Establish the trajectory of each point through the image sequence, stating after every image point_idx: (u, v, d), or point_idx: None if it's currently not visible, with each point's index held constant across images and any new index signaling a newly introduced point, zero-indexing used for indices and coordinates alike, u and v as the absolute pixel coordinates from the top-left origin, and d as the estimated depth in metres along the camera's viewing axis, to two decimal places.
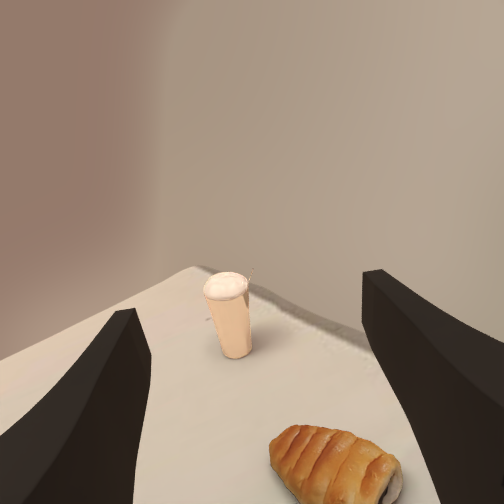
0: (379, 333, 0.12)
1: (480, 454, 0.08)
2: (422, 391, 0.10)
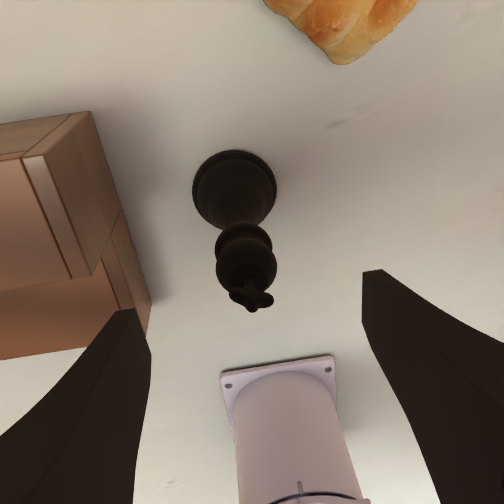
0: (379, 333, 0.12)
1: (480, 454, 0.08)
2: (422, 391, 0.10)
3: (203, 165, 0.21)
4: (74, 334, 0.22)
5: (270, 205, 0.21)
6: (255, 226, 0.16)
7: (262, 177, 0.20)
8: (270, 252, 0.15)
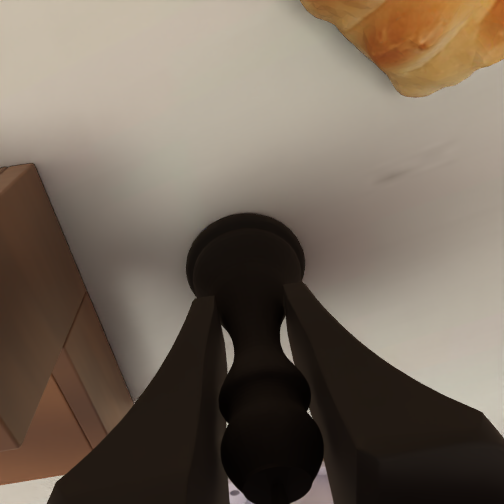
0: (295, 347, 0.12)
1: (346, 477, 0.07)
2: (319, 408, 0.10)
3: (201, 235, 0.14)
4: (22, 466, 0.16)
5: None
6: (285, 369, 0.10)
7: (287, 255, 0.14)
8: (314, 430, 0.09)
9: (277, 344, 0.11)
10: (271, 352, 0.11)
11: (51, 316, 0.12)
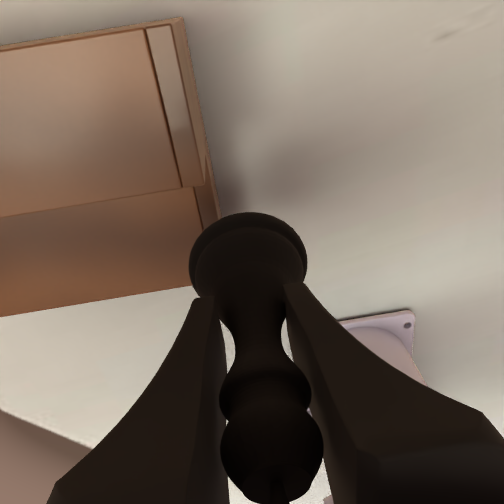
0: (295, 347, 0.12)
1: (346, 477, 0.07)
2: (319, 408, 0.10)
3: (204, 234, 0.14)
4: (154, 274, 0.20)
5: None
6: (286, 368, 0.10)
7: (289, 254, 0.14)
8: (314, 429, 0.09)
9: (278, 343, 0.11)
10: (272, 351, 0.10)
11: (200, 126, 0.17)
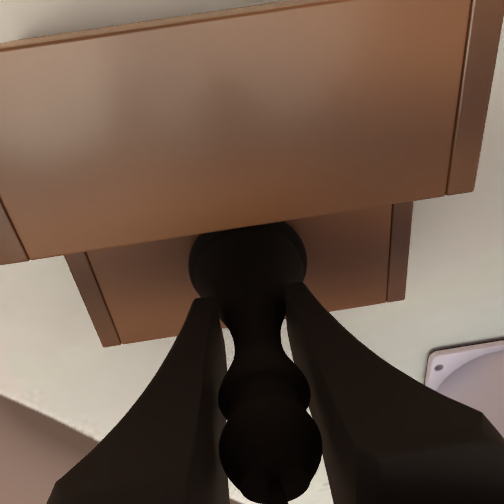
0: (295, 347, 0.12)
1: (346, 477, 0.07)
2: (319, 408, 0.10)
3: (204, 233, 0.14)
4: (322, 294, 0.17)
5: None
6: (285, 367, 0.10)
7: (289, 253, 0.14)
8: (312, 429, 0.09)
9: (277, 342, 0.11)
10: (271, 350, 0.10)
11: None
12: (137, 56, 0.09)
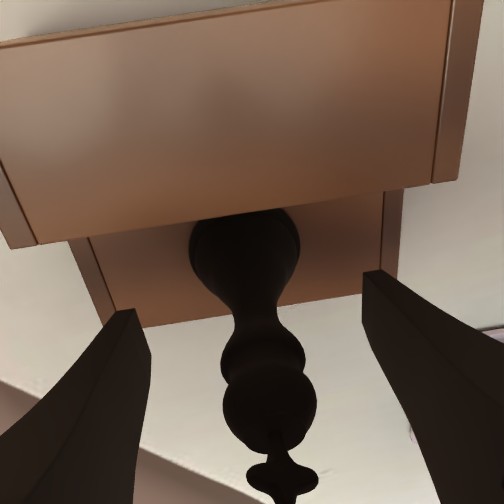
0: (379, 333, 0.12)
1: (480, 455, 0.08)
2: (422, 391, 0.10)
3: None
4: (316, 282, 0.18)
5: (292, 271, 0.16)
6: (281, 333, 0.11)
7: (283, 236, 0.15)
8: (308, 385, 0.10)
9: (274, 315, 0.12)
10: (269, 320, 0.11)
11: None
12: (140, 51, 0.09)
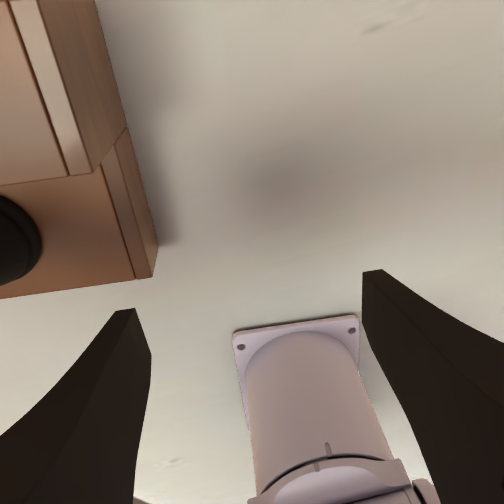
0: (379, 333, 0.12)
1: (480, 455, 0.08)
2: (422, 391, 0.10)
3: None
4: (71, 271, 0.19)
5: (18, 257, 0.17)
6: None
7: None
8: None
9: None
10: None
11: (107, 114, 0.16)
12: None
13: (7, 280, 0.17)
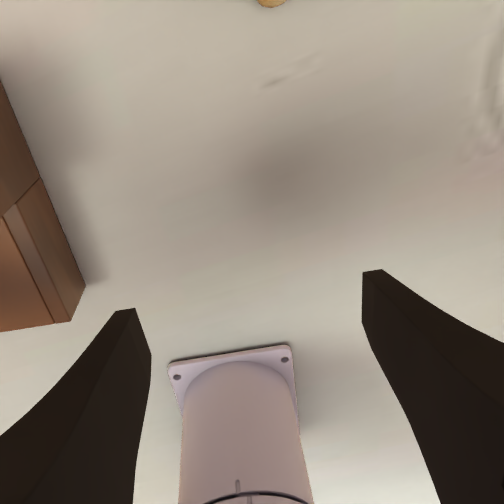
0: (379, 333, 0.12)
1: (480, 454, 0.08)
2: (422, 391, 0.10)
3: None
4: None
5: None
6: None
7: None
8: None
9: None
10: None
11: (5, 176, 0.17)
12: None
13: None
